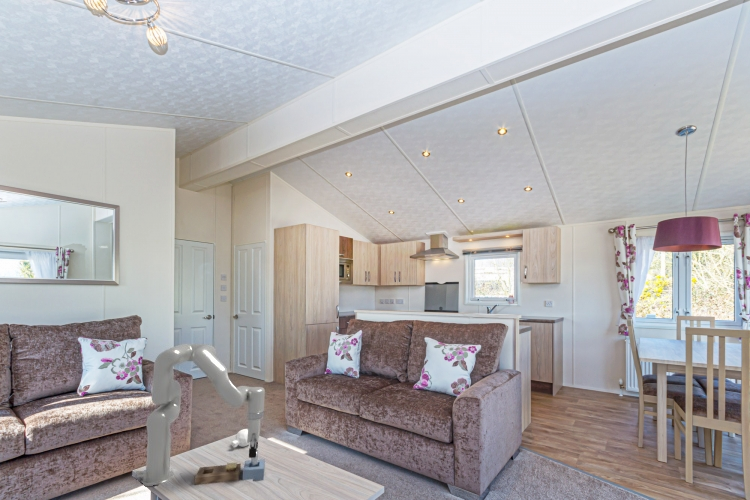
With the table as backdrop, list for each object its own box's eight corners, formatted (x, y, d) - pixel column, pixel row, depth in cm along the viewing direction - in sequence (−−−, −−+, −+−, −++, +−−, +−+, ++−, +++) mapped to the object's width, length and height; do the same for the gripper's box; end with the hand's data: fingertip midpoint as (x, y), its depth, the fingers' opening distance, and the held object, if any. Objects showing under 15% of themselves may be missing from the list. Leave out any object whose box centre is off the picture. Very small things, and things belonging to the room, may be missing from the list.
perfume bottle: (243, 437, 221) (226, 447, 210) (246, 423, 219) (229, 432, 209) (254, 444, 217) (237, 455, 206) (257, 430, 215) (240, 440, 205)
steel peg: (250, 475, 178) (251, 453, 179) (251, 472, 181) (251, 450, 182) (257, 474, 179) (257, 452, 180) (257, 471, 182) (258, 449, 182)
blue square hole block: (242, 482, 174) (242, 470, 174) (244, 471, 184) (245, 460, 184) (263, 480, 176) (263, 468, 176) (264, 469, 186) (264, 459, 186)
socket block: (194, 487, 170) (195, 477, 170) (199, 476, 179) (199, 467, 180) (237, 482, 174) (238, 473, 174) (240, 472, 183) (240, 463, 184)
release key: (225, 478, 175) (226, 466, 176) (226, 474, 179) (227, 463, 179) (235, 476, 176) (236, 465, 177) (236, 473, 180) (237, 462, 180)
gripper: (248, 409, 190) (246, 445, 188) (245, 421, 173) (242, 461, 172) (264, 408, 192) (262, 444, 190) (262, 420, 175) (260, 460, 173)
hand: (253, 452), depth 181 cm, fingers open, 9 cm apart
